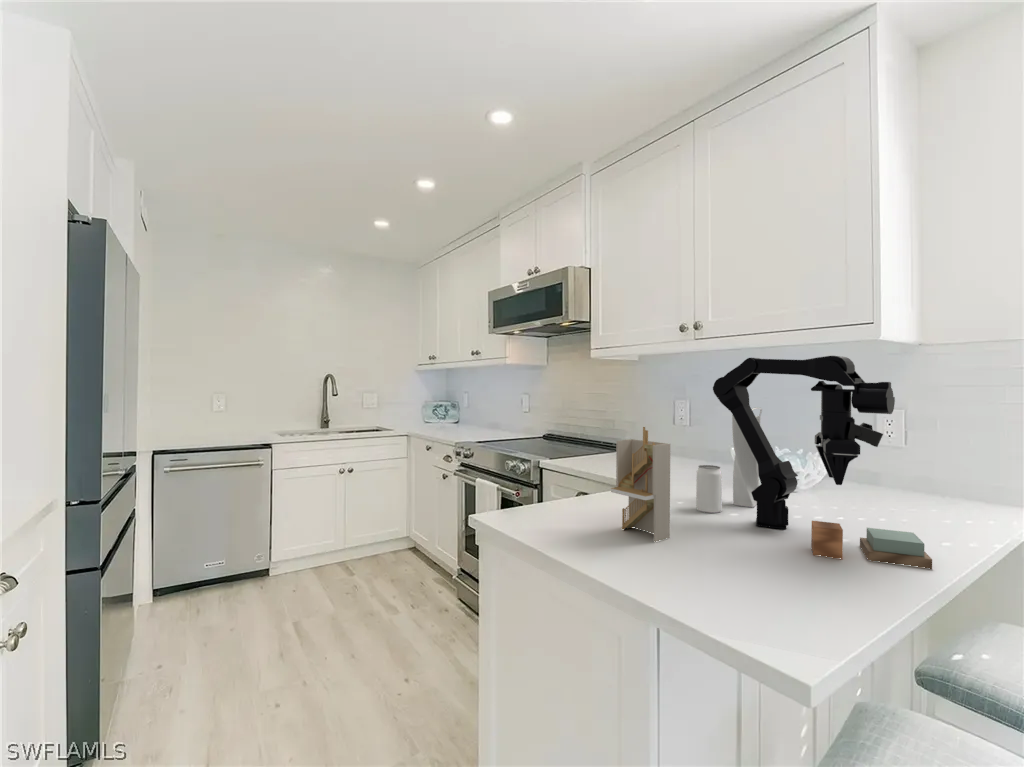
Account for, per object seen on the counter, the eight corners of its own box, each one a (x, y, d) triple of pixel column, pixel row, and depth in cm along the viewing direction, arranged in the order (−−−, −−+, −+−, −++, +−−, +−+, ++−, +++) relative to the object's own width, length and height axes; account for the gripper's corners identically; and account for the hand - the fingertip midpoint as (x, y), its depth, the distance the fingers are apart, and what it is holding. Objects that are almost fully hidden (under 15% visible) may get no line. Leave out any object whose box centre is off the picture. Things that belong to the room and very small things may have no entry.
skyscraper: (764, 504, 147) (764, 406, 146) (758, 509, 141) (759, 408, 140) (734, 500, 151) (735, 406, 151) (728, 505, 145) (729, 407, 145)
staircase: (629, 528, 124) (630, 423, 124) (669, 540, 115) (670, 427, 114) (607, 533, 119) (608, 425, 119) (647, 546, 110) (648, 428, 110)
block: (813, 555, 104) (813, 526, 104) (811, 548, 108) (811, 520, 108) (842, 559, 102) (842, 529, 101) (839, 552, 106) (839, 523, 106)
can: (725, 513, 136) (725, 468, 136) (701, 513, 136) (701, 468, 136) (716, 507, 142) (716, 464, 142) (692, 507, 143) (693, 464, 142)
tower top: (873, 550, 101) (873, 537, 101) (866, 539, 108) (866, 527, 108) (924, 556, 98) (924, 543, 98) (913, 544, 105) (913, 532, 105)
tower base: (868, 563, 101) (868, 551, 101) (859, 548, 110) (859, 537, 110) (932, 572, 96) (932, 559, 96) (917, 556, 105) (917, 544, 105)
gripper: (890, 415, 103) (889, 492, 103) (869, 410, 120) (868, 476, 120) (826, 413, 107) (825, 487, 107) (814, 409, 124) (813, 473, 124)
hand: (835, 481), depth 115 cm, fingers open, 9 cm apart
